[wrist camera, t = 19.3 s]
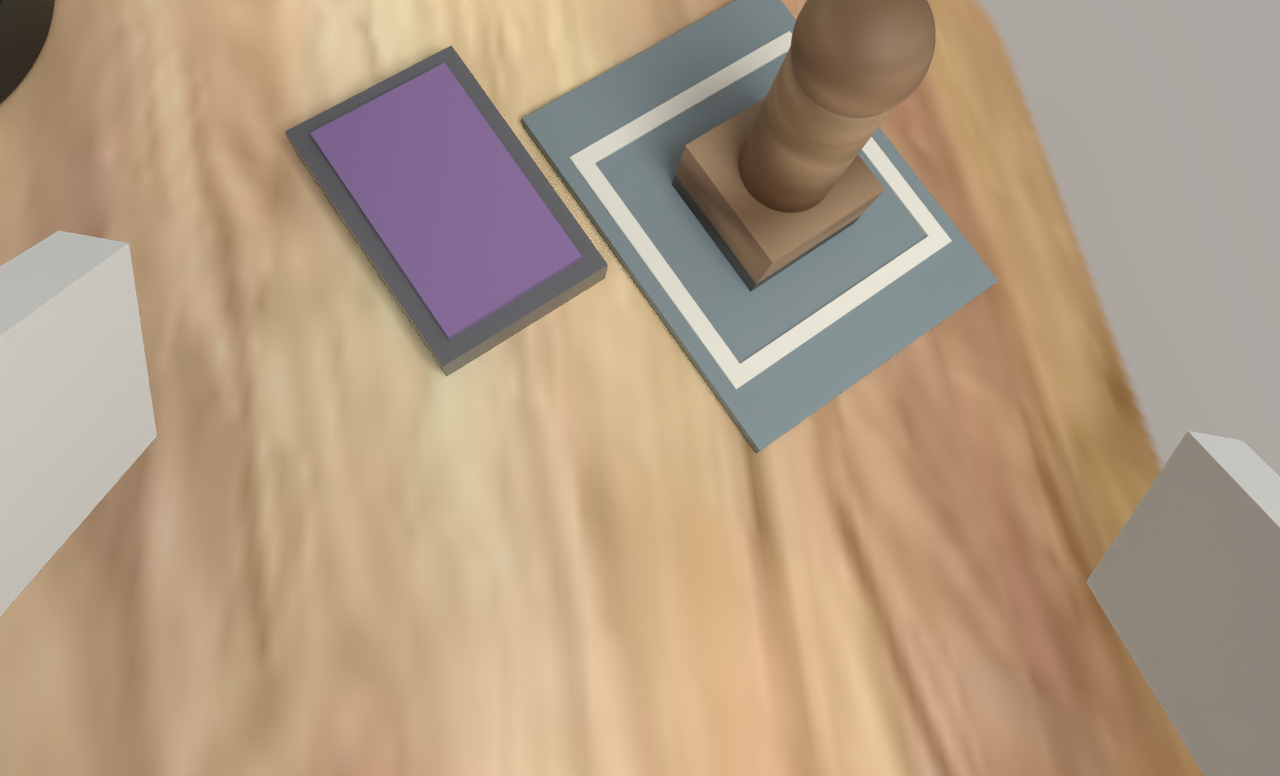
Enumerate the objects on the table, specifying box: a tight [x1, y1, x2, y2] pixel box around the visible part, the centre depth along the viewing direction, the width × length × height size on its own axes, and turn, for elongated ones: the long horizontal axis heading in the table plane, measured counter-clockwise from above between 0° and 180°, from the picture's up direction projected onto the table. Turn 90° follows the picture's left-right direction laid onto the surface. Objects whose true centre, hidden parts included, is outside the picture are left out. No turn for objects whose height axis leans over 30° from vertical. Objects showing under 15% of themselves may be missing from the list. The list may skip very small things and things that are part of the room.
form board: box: [522, 0, 998, 453], centre depth 38 cm, size 18×14×1 cm
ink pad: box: [285, 46, 608, 376], centre depth 35 cm, size 12×8×2 cm, turn 35°
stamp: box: [672, 0, 935, 292], centre depth 31 cm, size 6×6×14 cm
